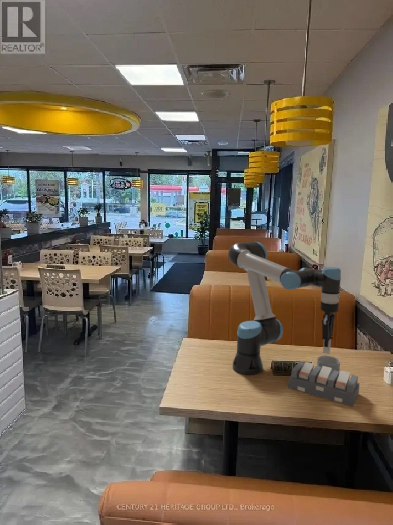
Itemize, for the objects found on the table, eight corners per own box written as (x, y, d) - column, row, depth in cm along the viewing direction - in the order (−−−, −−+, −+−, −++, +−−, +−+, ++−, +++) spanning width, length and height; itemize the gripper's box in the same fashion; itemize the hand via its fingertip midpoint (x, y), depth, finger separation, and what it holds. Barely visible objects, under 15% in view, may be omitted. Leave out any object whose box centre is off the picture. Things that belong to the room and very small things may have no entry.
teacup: (340, 381, 182) (342, 365, 181) (317, 378, 185) (318, 362, 183) (336, 368, 196) (337, 354, 195) (314, 366, 198) (315, 351, 197)
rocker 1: (298, 377, 173) (298, 374, 172) (305, 364, 181) (305, 361, 180) (307, 379, 171) (307, 376, 170) (314, 366, 178) (314, 363, 178)
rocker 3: (335, 387, 165) (335, 384, 164) (340, 373, 172) (340, 370, 171) (345, 390, 162) (345, 386, 162) (350, 375, 170) (350, 372, 169)
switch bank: (287, 387, 174) (289, 370, 173) (297, 377, 185) (298, 360, 184) (352, 406, 159) (354, 387, 158) (358, 393, 170) (360, 375, 169)
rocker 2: (316, 382, 169) (316, 379, 168) (322, 368, 176) (322, 365, 176) (325, 384, 167) (325, 381, 166) (331, 370, 174) (331, 367, 174)
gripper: (334, 306, 161) (330, 359, 165) (342, 300, 172) (338, 350, 175) (316, 303, 166) (313, 355, 169) (325, 298, 176) (322, 346, 180)
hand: (326, 352), depth 172 cm, fingers closed
